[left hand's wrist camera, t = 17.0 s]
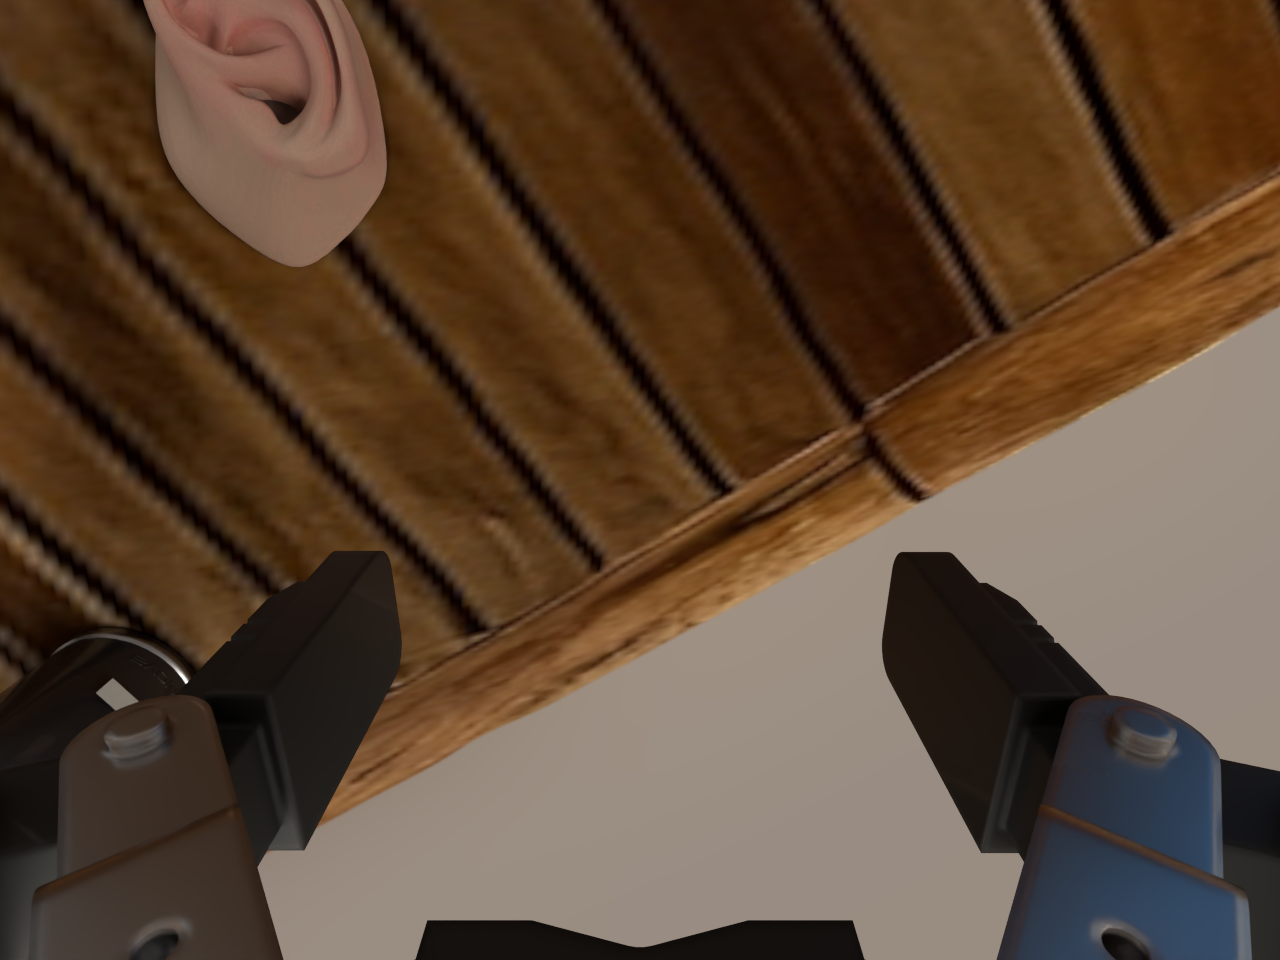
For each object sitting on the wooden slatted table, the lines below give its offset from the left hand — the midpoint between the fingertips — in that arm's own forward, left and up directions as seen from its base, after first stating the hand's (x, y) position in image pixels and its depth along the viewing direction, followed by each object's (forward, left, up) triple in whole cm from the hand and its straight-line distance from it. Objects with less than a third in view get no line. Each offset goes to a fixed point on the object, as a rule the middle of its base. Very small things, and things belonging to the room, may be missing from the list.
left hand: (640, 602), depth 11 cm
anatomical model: (-10, +18, -28) cm, 34 cm away
